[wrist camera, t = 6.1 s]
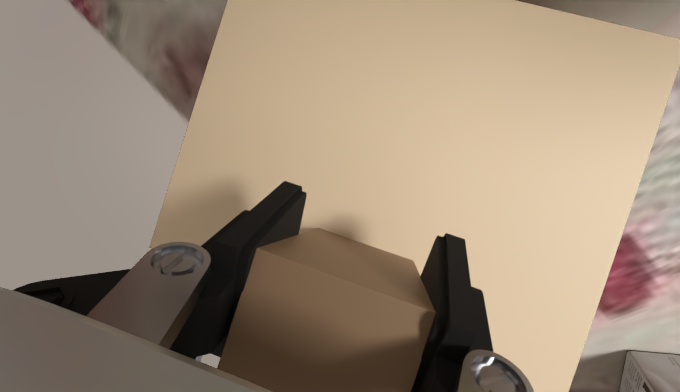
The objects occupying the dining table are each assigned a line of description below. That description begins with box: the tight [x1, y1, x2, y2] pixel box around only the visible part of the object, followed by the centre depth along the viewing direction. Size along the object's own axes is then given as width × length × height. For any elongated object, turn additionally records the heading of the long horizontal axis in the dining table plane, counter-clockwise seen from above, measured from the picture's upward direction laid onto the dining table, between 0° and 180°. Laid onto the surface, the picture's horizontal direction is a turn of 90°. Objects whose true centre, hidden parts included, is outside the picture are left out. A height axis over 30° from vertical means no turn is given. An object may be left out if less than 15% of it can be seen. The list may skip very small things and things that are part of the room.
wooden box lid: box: [150, 0, 680, 392], centre depth 11 cm, size 18×14×8 cm
